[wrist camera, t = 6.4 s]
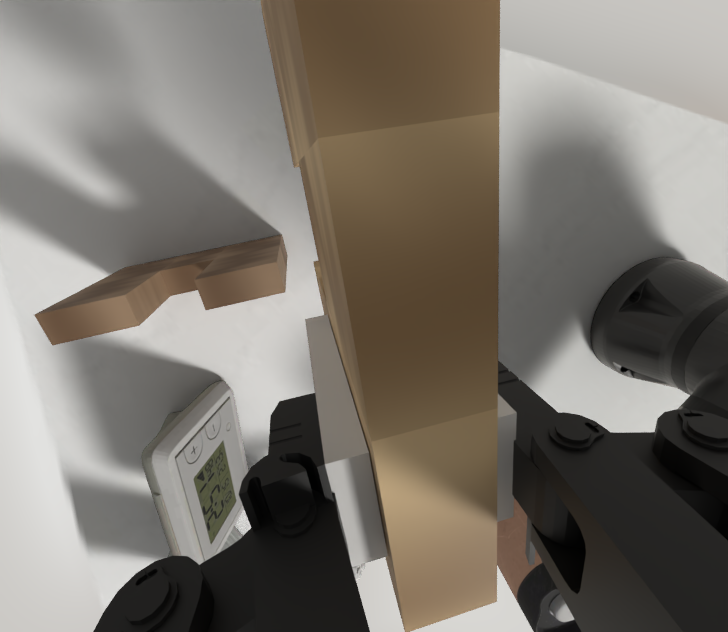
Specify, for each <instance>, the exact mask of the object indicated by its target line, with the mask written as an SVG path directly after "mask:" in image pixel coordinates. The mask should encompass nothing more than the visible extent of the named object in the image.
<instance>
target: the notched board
mask: <svg viewBox="0 0 728 632" xmlns="http://www.w3.org/2000/svg"><path fill="white" fill-rule="evenodd" d="M261 7H262V13H263V19H264V24H265V29H266V34H267V39H268V44H269V48H270V53H271V58H272V63H273V68H274V73H275V78H276V82H277V87H278V92H279V97H280V102H281V107H282V111H283V116H284V121H285V126H286V131H287V136H288V141H289V145H290V150H291V155H292V160H293V165H294V167H300V170H301V175H302V180H303V185H304V190H305V195H306V200H307V205H308V210H309V215H310V220H311V225H312V230H313V235H314V240H315V245H316V250H317V255H318V260H319V261H314V267H315V271H316V276H317V281H318V286H319V291H320V296H321V300H322V305H323V310H324V315H328V318H329V322H330V325H331V328H332V332H333V335H334V338H335V342H336V345H337V348H338V352H339V355H340V358H341V362H342V365H343V368H344V372H345V375H346V378H347V382H348V385H349V388H350V391H351V395H352V398H353V401H354V405H355V408H356V411H357V415H358V418H359V421H360V425H361V428H362V431H363V435H364V438H365V441H366V445H367V448H368V451H369V456H370V461H371V467H372V472H373V478H374V483H375V489H376V494H377V500H378V505H379V511H380V516H381V521H382V527H383V532H384V538H385V543H386V549H387V554H388V556H386V561H387V565H388V569H389V572H390V576H391V580H392V584H393V588H394V592H395V595H396V599H397V603H398V607H399V610H400V615H401V618H402V622H403V626H404V630H405V632H410V631H413V630H415V629H419V628H422V627H424V626H427V625H430V624H433V623H436V622H439V621H442V620H445V619H448V618H450V617H453V616H456V615H459V614H462V613H465V612H468V611H471V610H474V609H477V608H479V607H483V606H485V605H488V604H491V603H494V602H496V601H497V451H498V254H499V57H500V45H499V44H500V0H261Z"/></svg>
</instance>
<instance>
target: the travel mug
mask: <svg viewBox="0 0 728 632" xmlns="http://www.w3.org/2000/svg"><path fill="white" fill-rule="evenodd" d="M526 531H527V515H526V513H525V512H524V510H523V509H522V508H521V506H520V505H519V503H518V502H517V501H516V499H515V498H514V515H513V517H512V518H508V519H505V520H502V521H499V522H497V565H498V567H499V569H500V571H501V572H502V574H503V576H504V578H505V580H506V581H507V584H508V585H509V587H510V589H511V591H512V593H513V594H514V596H515V598H516V600H517V602H518V603H519V605H520V607H521V609H522V611H523V613H524V614H525V616H526V618H527V620H528V622H529V624H530V626H531V627H532V629H533V631H534V632H581V630H580V628H579V626H578V624H577V623H576V621H575V619H574V617H573V616H572V614H571V612H570V610H569V608H568V607H567V605H566V603H565V601H564V599H563V598H562V596H561V594H560V592H559V590H558V589H557V587H556V585H555V583H554V581H553V580H552V578H551V576H550V574H549V572H548V571H547V569H546V567H545V565H544V563H542V561H541V558H540V556H539V554H538V553H537V551H536V550H535V564H533V565H529V563H528V560H527V557H526V554H525V550H526Z"/></svg>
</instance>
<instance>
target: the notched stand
mask: <svg viewBox="0 0 728 632" xmlns="http://www.w3.org/2000/svg"><path fill="white" fill-rule="evenodd" d="M286 270H287V252H286V249H285V245H284V241H283V237H282V235H277V236H272V237H268V238H263V239H258V240H253V241H248V242H244V243H239V244H234V245H229V246H225V247H220V248H215V249H210V250H206V251H201V252H196V253H191V254H187V255H182V256H177V257H172V258H168V259H163V260H158V261H153V262H149V263H144V264H139V265H134V266H130V267H125V268H123V269H121V270H119V271H117V272H115V273H113V274H112V275H110V276H108V277H106V278H104V279H102V280H100V281H98V282H96V283H94V284H92V285H91V286H89V287H87V288H85V289H83V290H81V291H79V292H77V293H75V294H73V295H71V296H69V297H68V298H66V299H64V300H62V301H60V302H58V303H56V304H54V305H52V306H50V307H48V308H47V309H45V310H43V311H41V312H39V313H37V314H35V317H36V318H37V320H38V322H39V324H40V325H41V327H42V329H43V330H44V332H45V334H46V335H47V337H48V339H49V340H50V342H51V344H52V345H56V344H60V343H65V342H69V341H74V340H78V339H82V338H87V337H91V336H95V335H100V334H104V333H109V332H113V331H117V330H122V329H126V328H130V327H135V326H139V325H140V324H141V323H142V322H143V321H145V320H146V319H147V318H148V317H149V316H150V315H151V314H152V313H153V312H154V311H155V310H156V309H157V308H158V307H159V306H160V305H161V304H162V303H163V302H164V301H166V300H167V299H168V298H169V297H170V296H172V295H177V294H181V293H186V292H190V291H195V290H198V291H199V294H200V296H201V299H202V302H203V304H204V307H205V309H206V310H209V309H213V308H218V307H222V306H227V305H231V304H235V303H240V302H244V301H248V300H253V299H257V298H262V297H266V296H270V295H275V294H279V293H283V292H285V288H286Z"/></svg>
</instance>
